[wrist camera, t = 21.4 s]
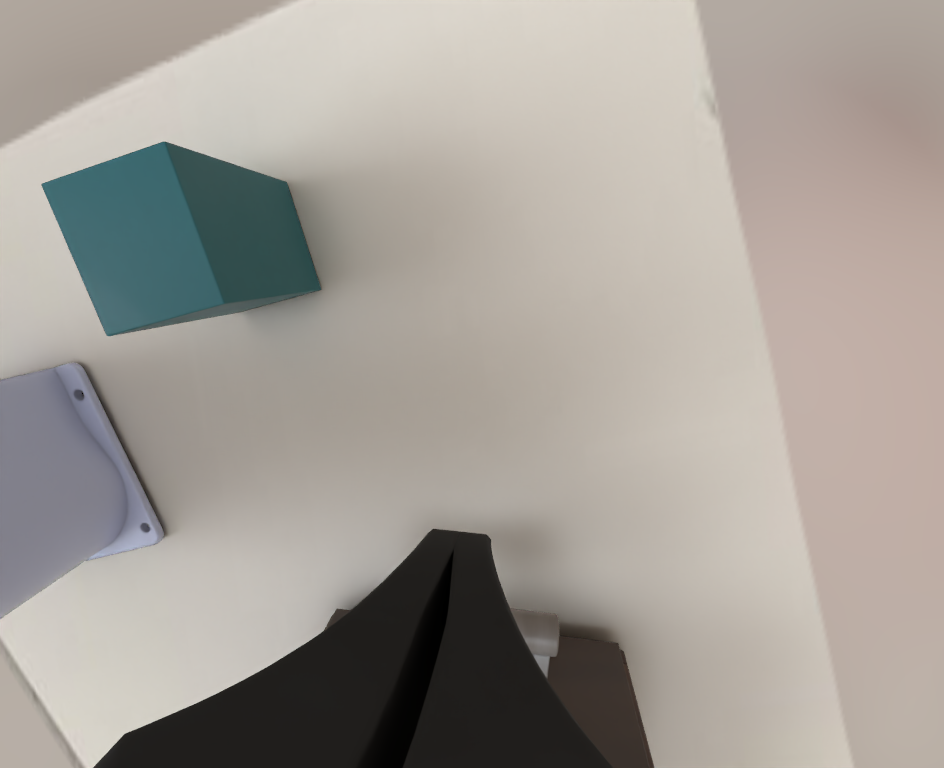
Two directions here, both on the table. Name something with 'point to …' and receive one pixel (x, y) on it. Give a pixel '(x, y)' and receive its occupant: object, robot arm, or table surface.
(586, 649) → the drawer
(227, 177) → the teal rectangular block
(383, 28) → the table surface
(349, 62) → the table surface
